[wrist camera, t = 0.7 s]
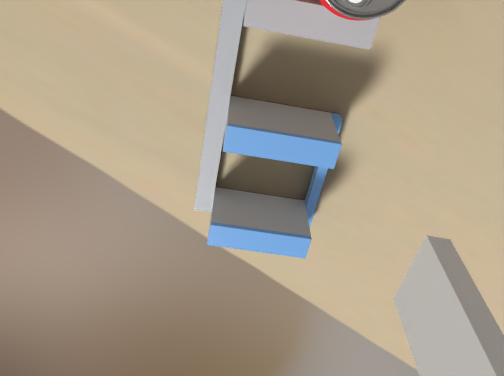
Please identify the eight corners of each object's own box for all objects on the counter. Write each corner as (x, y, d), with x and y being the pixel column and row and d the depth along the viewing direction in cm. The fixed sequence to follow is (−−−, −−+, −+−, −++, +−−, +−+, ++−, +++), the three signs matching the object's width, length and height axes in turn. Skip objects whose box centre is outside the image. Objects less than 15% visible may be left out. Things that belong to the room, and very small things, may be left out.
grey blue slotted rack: (249, -186, 27) (249, -202, 22) (420, -147, 28) (453, -154, 23) (195, 203, 41) (188, 242, 37) (308, 219, 42) (314, 259, 38)
